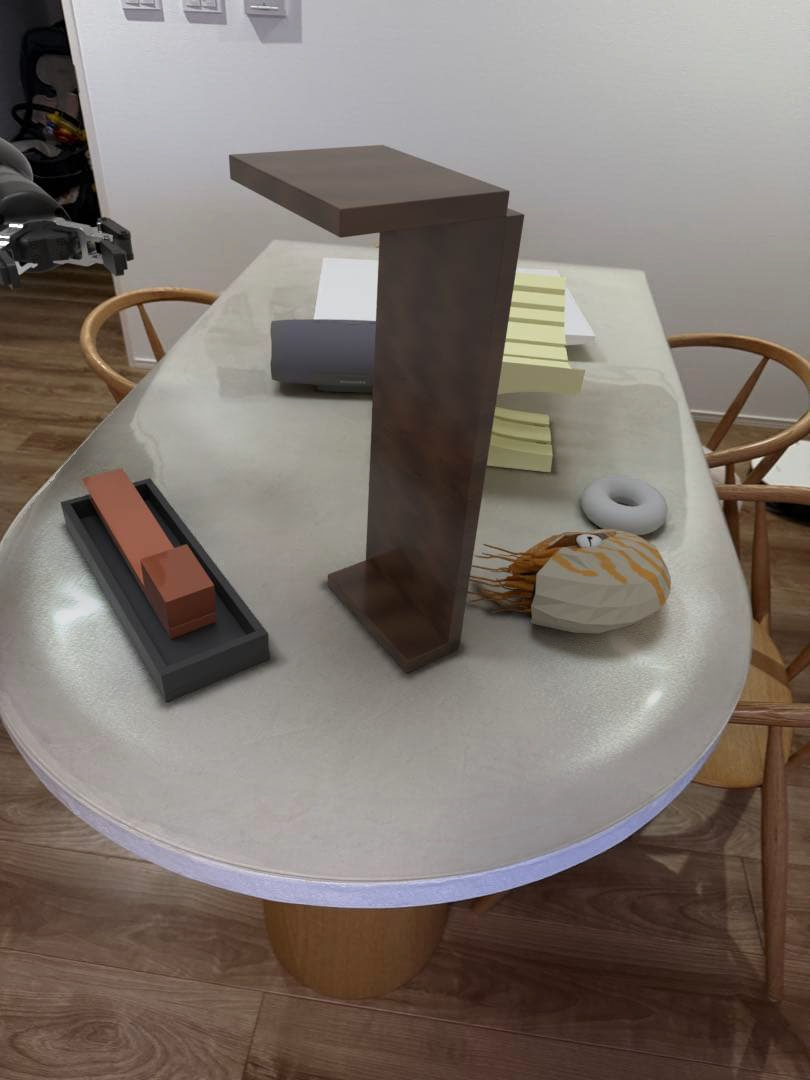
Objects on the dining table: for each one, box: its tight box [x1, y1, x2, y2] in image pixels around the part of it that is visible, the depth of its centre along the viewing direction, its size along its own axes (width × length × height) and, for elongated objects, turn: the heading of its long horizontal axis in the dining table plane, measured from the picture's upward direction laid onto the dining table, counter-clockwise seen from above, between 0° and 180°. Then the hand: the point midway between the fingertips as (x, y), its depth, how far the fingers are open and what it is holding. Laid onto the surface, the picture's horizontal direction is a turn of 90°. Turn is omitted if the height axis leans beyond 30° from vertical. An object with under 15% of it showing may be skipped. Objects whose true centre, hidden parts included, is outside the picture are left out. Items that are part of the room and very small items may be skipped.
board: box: [313, 257, 596, 346], centre depth 135 cm, size 45×32×5 cm
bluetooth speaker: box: [269, 318, 376, 393], centre depth 110 cm, size 23×9×10 cm, turn 94°
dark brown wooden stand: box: [228, 144, 525, 674], centre depth 60 cm, size 14×14×40 cm
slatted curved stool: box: [487, 273, 586, 473], centre depth 97 cm, size 30×16×18 cm, turn 174°
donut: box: [580, 474, 669, 536], centre depth 89 cm, size 10×4×10 cm
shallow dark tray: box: [60, 477, 270, 703], centre depth 74 cm, size 29×10×3 cm, turn 35°
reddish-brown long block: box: [81, 467, 216, 639], centre depth 75 cm, size 24×4×5 cm, turn 35°
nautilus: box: [467, 528, 672, 635], centre depth 75 cm, size 8×22×15 cm
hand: (68, 270), depth 65 cm, fingers open, 8 cm apart
